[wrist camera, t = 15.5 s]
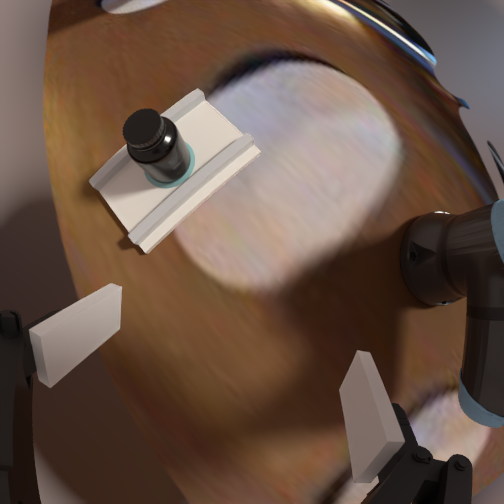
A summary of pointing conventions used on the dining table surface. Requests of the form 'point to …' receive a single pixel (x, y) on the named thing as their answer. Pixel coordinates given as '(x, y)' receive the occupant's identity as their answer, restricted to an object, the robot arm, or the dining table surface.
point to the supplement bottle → (156, 146)
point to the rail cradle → (186, 188)
